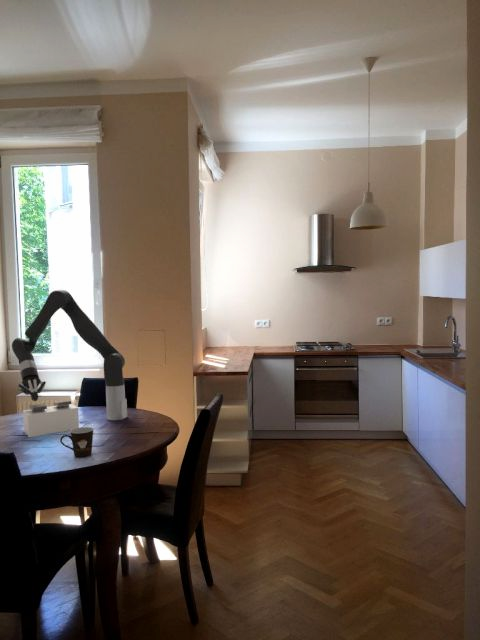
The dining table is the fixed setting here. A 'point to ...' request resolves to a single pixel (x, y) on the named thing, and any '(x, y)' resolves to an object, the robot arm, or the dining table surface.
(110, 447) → the dining table surface
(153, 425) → the dining table surface
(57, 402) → the block
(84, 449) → the coffee mug
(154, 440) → the dining table surface
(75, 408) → the switch box
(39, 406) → the rocker outer
